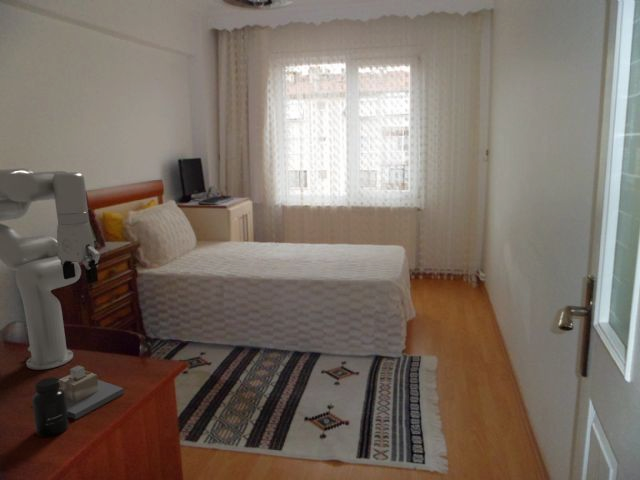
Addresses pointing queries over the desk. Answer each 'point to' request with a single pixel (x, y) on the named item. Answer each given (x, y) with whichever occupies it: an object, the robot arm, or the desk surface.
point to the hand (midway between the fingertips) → (80, 280)
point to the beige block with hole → (79, 386)
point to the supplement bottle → (50, 408)
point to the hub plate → (93, 400)
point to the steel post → (77, 373)
